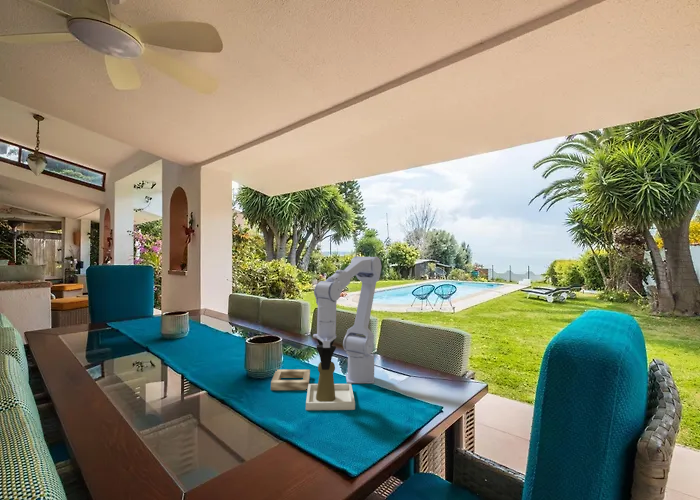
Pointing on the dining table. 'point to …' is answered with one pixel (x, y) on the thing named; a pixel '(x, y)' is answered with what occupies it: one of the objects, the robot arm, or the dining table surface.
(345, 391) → the tray
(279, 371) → the frame
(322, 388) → the olive tall rounded piece
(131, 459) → the dining table surface
